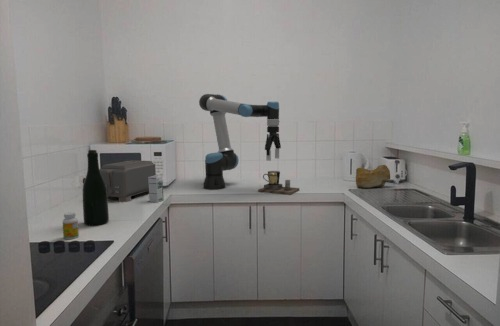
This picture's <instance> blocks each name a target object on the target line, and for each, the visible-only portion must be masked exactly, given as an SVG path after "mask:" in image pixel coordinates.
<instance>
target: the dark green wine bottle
mask: <svg viewBox="0 0 500 326" xmlns="http://www.w3.org/2000/svg"><path fill="white" fill-rule="evenodd" d="M87 152H88V153H87V154H86V155H87V157H86V158H87V171H86V175H85V178H84V182H83V184H82V213H83V214H82V216H83V223H84V225H86V226H100V225H104V224H107V223H108V222H109V220H110V217H109V202H108V201H109V200H108V199H107V189H106V184H105V182H104V180H103V178H102V175H101V173H100V170H99V169H100V165H99V153H98V152H97V149H89V150H87Z"/></svg>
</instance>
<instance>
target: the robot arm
mask: <svg viewBox="0 0 500 326" xmlns="http://www.w3.org/2000/svg"><path fill="white" fill-rule="evenodd" d="M198 103H199V107H200V108H201V110H202V111H205V112H209V115H210V116H211V117H212V120H213V124H214V131H215V136H216V141H217V147H218V151H217V152H211V153H210V152H209V153H208V154H206V155H205V156H204V157H205V159H204V162H205V163H204V164H205V166H204V167H205V178H204V181H203V184H202V187H203V189H205V190H222V189H225V188H226V181H225V178H224V171H231V170H233V169H236V168H237V167H238V164H239V156H238V155H237V153H235V150H234V148H232V146H231V142H230V137H229V136H230V135H229V130H228V129H229V128H228V125H227V119H226V114H227V113H228V114H232V115H237V116H238V115H239V116H241V117H244V118H250V117H251V118H253V117H254V118H265V117H266V118H267V119H266V126H267V128H266V132H267V134H266V139H265V145H264V151H266V152H265V153H266V161H272V150H271V148H272V145H273V144H274V147H275V148H274V159H280V149H281V148H282V147H281V141H280V134H279V132H280V127H279V125H280V122H281V121H280V103H279V101H267V103H266V104H247V103H241V102H234V101H229V100H228V99H227V98H226V96H224V95H222V94H219V93H217V94H215V93H211V94H210V93H205V94H203V95H201V96H200V98H199V101H198Z"/></svg>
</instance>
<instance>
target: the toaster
mask: <svg viewBox="0 0 500 326" xmlns="http://www.w3.org/2000/svg"><path fill="white" fill-rule="evenodd" d="M99 170H100V173H101V175H102V178H103V180H104V182H105V184H106V189H107V199H108V201H109V200H112V199H113V198H118V202H119V203H120V202H121V203H128V202H131V201H132V197H133V196H137V195H140V194H143V193H145V192H146V193H148V194H149V181H148V177H151V176H155V175H156V163H154V162H153V161H152V160H135V159H134V160H133V159H132V160H127V161H121V162H115V163H107V164H103V165H102V166H101V168H99Z"/></svg>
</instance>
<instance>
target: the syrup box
mask: <svg viewBox="0 0 500 326" xmlns="http://www.w3.org/2000/svg"><path fill="white" fill-rule="evenodd" d="M148 181H149V193H148V194H149V198H148V199H149V202H151V203H159V202H162V201H164V199H165V198H164V184H163V181H164V180H163V176H162V175H159V174H158V175H155V176H151V177H148Z"/></svg>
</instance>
